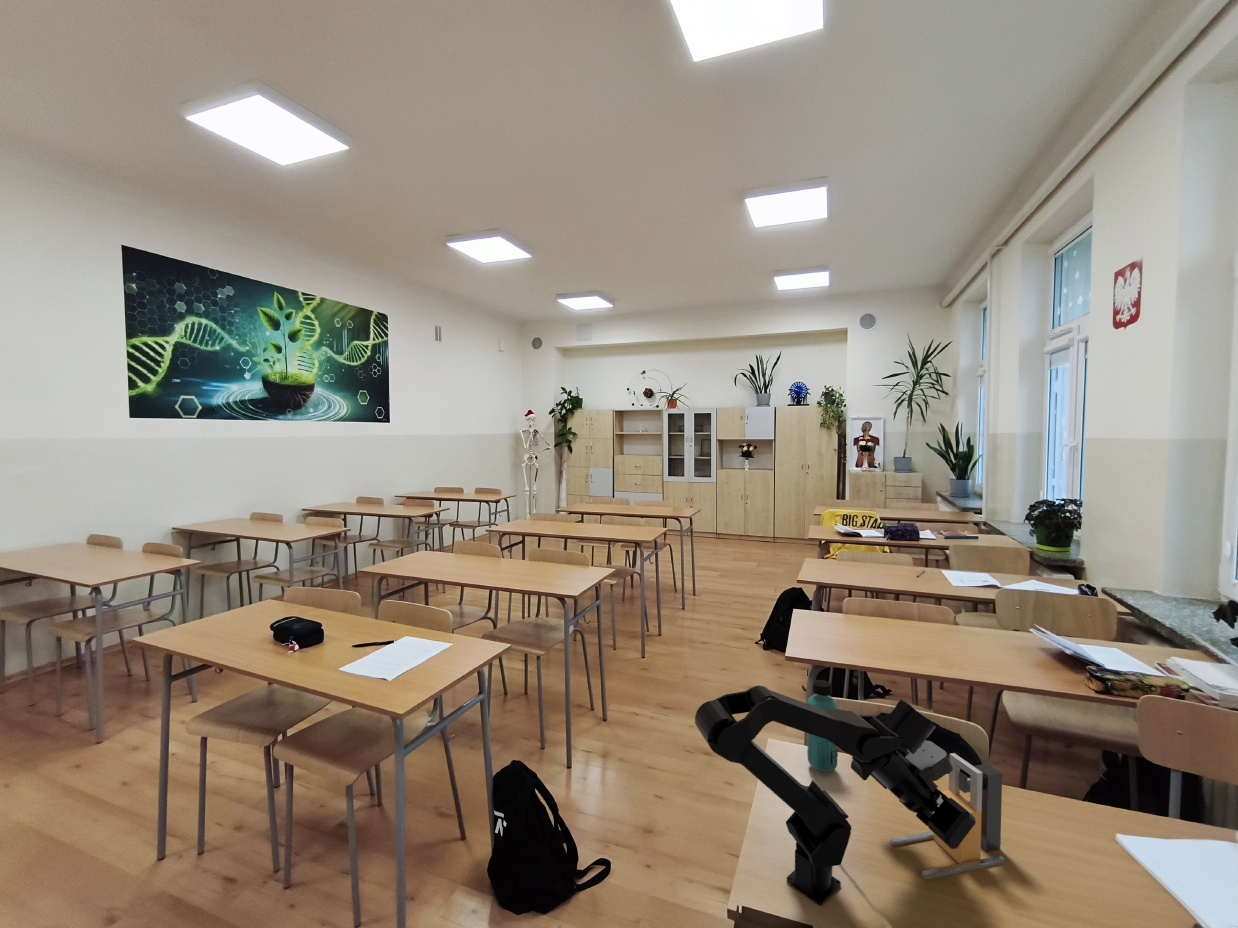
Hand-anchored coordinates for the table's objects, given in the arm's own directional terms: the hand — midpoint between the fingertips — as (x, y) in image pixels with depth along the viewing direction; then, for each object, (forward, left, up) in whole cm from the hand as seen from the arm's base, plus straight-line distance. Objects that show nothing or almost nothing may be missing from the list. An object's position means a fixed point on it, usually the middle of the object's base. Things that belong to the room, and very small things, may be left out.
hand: (946, 821), depth 96 cm
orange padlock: (+2, -1, -6) cm, 6 cm away
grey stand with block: (+1, 0, -7) cm, 7 cm away
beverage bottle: (+7, +28, -7) cm, 30 cm away
